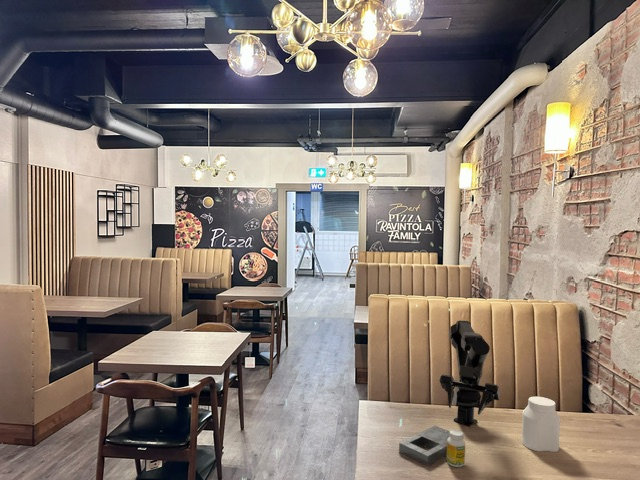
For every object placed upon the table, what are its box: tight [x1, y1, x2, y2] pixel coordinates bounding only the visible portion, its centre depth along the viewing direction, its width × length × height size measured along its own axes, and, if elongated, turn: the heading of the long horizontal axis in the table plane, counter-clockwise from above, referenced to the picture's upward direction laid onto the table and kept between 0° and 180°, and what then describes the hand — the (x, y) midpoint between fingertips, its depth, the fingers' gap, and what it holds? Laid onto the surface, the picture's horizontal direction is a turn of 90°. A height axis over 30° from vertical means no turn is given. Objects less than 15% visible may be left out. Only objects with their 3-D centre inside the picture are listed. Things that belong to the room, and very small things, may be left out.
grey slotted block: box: [398, 425, 451, 466], centre depth 151 cm, size 20×11×3 cm, turn 132°
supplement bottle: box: [446, 429, 466, 468], centre depth 142 cm, size 5×5×10 cm
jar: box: [520, 396, 561, 453], centre depth 155 cm, size 12×10×15 cm
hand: (463, 410), depth 149 cm, fingers open, 9 cm apart
